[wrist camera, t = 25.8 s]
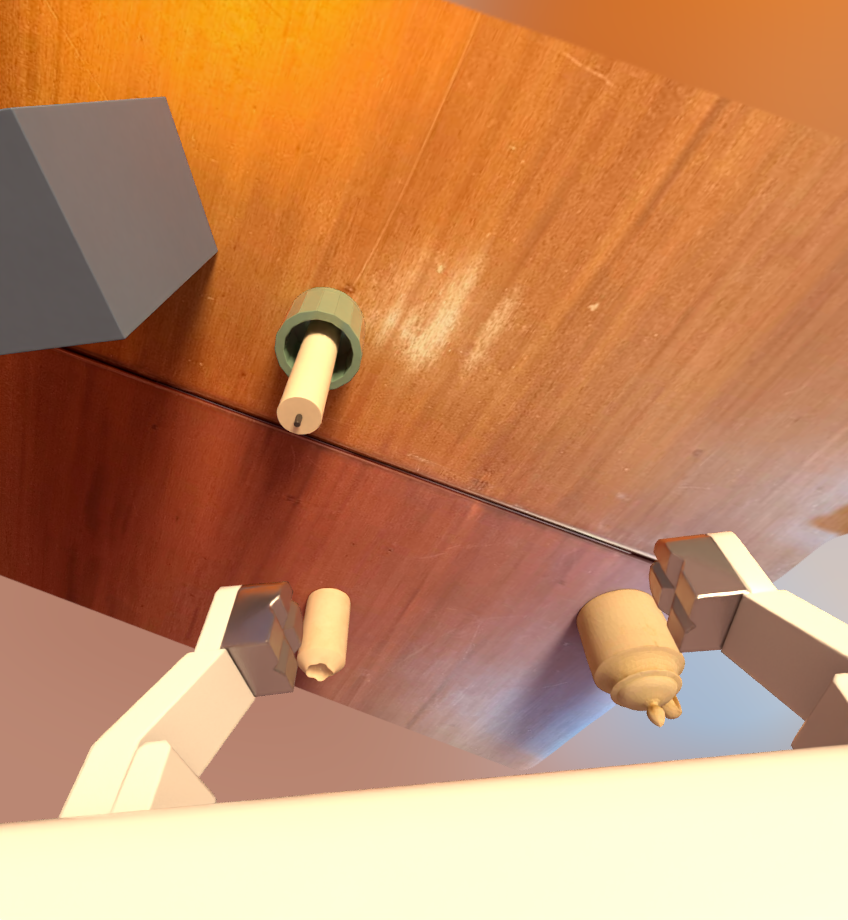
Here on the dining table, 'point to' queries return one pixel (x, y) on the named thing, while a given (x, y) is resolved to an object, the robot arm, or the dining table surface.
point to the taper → (310, 379)
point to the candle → (324, 633)
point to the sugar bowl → (632, 653)
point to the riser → (93, 221)
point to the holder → (330, 309)
